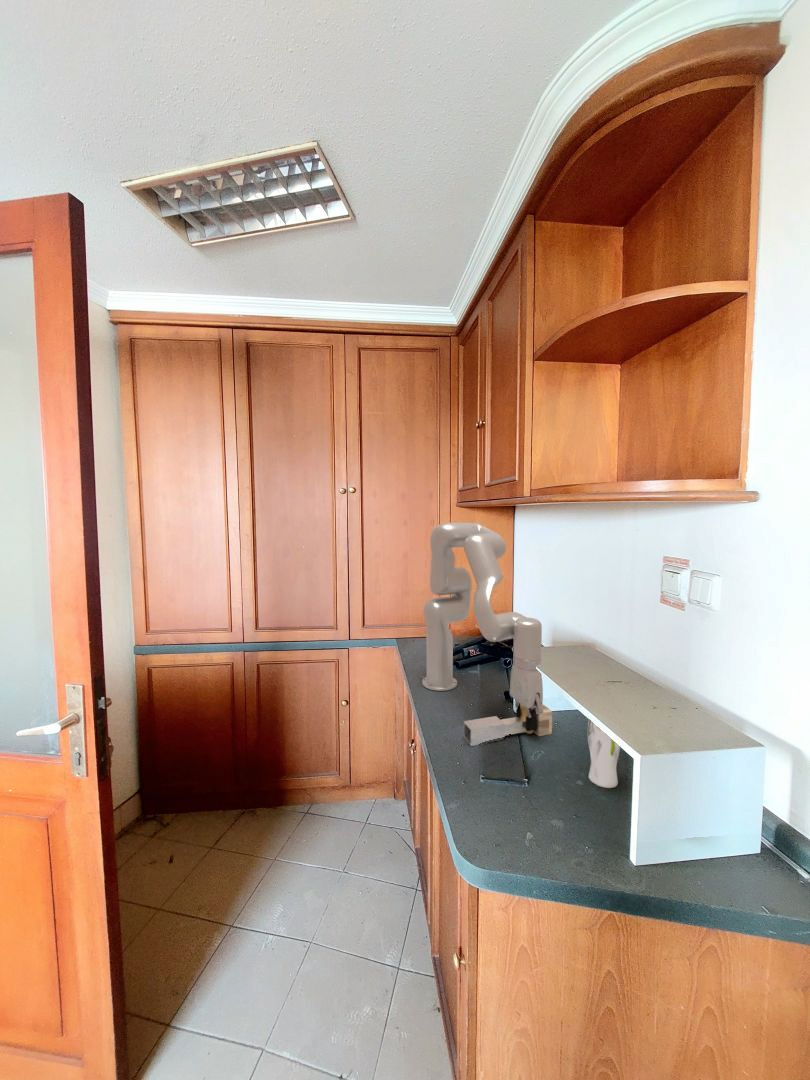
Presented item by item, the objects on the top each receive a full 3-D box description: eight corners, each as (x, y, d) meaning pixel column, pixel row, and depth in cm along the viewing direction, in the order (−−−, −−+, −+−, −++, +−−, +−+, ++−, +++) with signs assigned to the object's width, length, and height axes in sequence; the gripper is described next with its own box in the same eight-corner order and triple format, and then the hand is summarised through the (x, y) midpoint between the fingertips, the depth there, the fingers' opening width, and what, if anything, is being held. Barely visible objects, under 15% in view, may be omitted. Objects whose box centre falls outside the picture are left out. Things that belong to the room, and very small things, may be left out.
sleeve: (463, 737, 114) (463, 721, 114) (496, 731, 117) (496, 716, 117) (471, 746, 110) (471, 729, 109) (504, 740, 112) (504, 723, 112)
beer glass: (624, 791, 91) (625, 725, 90) (590, 787, 93) (592, 722, 92) (614, 772, 98) (616, 711, 97) (583, 769, 100) (584, 708, 99)
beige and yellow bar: (488, 732, 116) (488, 708, 115) (537, 723, 120) (538, 700, 120) (495, 739, 112) (496, 714, 112) (546, 730, 117) (546, 706, 116)
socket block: (525, 724, 121) (525, 703, 120) (538, 722, 122) (538, 701, 121) (538, 736, 114) (539, 713, 114) (551, 733, 116) (552, 711, 115)
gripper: (500, 654, 123) (499, 714, 124) (533, 675, 107) (531, 743, 108) (522, 651, 125) (521, 710, 126) (557, 671, 109) (556, 738, 110)
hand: (526, 725), depth 117 cm, fingers closed on beige and yellow bar, 4 cm apart
